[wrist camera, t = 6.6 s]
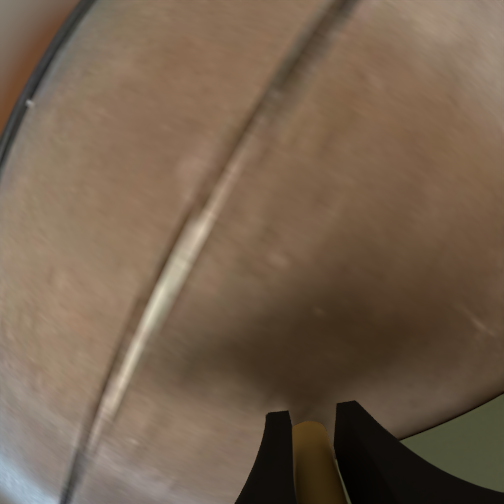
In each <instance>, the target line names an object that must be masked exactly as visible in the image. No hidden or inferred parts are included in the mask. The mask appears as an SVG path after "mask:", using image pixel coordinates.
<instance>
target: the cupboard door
mask: <svg viewBox="0 0 504 504" xmlns="http://www.w3.org/2000/svg"><path fill="white" fill-rule="evenodd" d="M292 441H293V477H294V487H295V493H296V499H297V504H351V502H350V499H349V496H348V493H347V491H346V488H345V485H344V482H343V480H342V477H341V474H340V471H339V468H338V463H337V460H335V457H334V454H333V451H332V447H331V444H330V441H329V437H328V434H327V431H326V428H325V427H324V426H323V425H322V424H320V423H318V422H314V421H306V422H301V423H298V424H296V425H294V426H293V427H292ZM400 442H401V443H402V444H404V445H405V446H406V447H407V448H409V449H410V450H412V451H413V452H414V453H416V454H417V455H419V456H420V457H422V458H423V459H425V460H426V461H428V462H429V463H431V464H433V465H434V466H436V467H438V468H440V469H441V470H443V471H445V472H447V473H449V474H451V475H453V476H456V477H458V478H461V479H463V480H465V481H468V482H470V483H473V484H475V485H478V486H481V487H485V488H488V489H492V490H495V491H499V492H504V394H502V395H500V396H499V397H497V398H495V399H493V400H491V401H489V402H488V403H486V404H484V405H482V406H480V407H478V408H476V409H474V410H472V411H470V412H468V413H466V414H464V415H462V416H460V417H457V418H455V419H453V420H451V421H449V422H446V423H444V424H442V425H439V426H437V427H435V428H432V429H430V430H427V431H425V432H422V433H420V434H417V435H414V436H412V437H409V438H406V439H404V440H401V441H400Z"/></svg>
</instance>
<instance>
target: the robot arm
mask: <svg viewBox="0 0 504 504" xmlns="http://www.w3.org/2000/svg"><path fill="white" fill-rule="evenodd" d="M334 449H335V454H336V459H337V463H338V468H339V471H340V474H341V477H342V480H343V482H344V485H345V488H346V491H347V493H348V496H349V499H350V502H351V504H504V492H499V491H495V490H492V489H488V488H485V487H481V486H478V485H475V484H473V483H470V482H468V481H465V480H463V479H461V478H458V477H456V476H453V475H451V474H449V473H447V472H445V471H443V470H441V469H440V468H438V467H436V466H434V465H433V464H431V463H429V462H428V461H426V460H425V459H423V458H422V457H420V456H419V455H417V454H416V453H414V452H413V451H412V450H410V449H409V448H407V447H406V446H405V445H404V444H402V443H401V442H400V441H399V440H397V439H396V438H395V437H394V436H393V435H391V434H390V433H389V432H388V431H387V430H386V429H385V428H383V427H382V426H381V425H380V424H379V423H378V422H377V421H376V420H375V419H374V418H373V417H372V416H371V415H370V414H369V413H368V412H367V411H366V410H365V409H364V408H363V407H362V406H361V405H360V404H359V403H358V402H357V401H355V400H354V401H348V402H343V403H337V406H336V421H335V433H334ZM235 504H297V499H296V493H295V487H294V477H293V441H292V424H291V419H290V415H289V411H279V412H270V413H268V414H267V415H266V422H265V429H264V434H263V438H262V442H261V445H260V448H259V451H258V454H257V457H256V460H255V463H254V465H253V468H252V470H251V472H250V474H249V477H248V479H247V481H246V483H245V485H244V487H243V489H242V491H241V493H240V495H239V497H238V498H237V500H236V502H235Z"/></svg>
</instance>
